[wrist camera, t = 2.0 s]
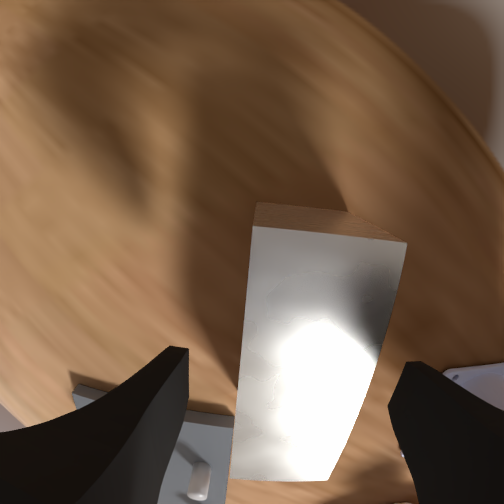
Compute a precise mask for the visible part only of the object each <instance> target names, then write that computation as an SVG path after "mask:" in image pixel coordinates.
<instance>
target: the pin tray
mask: <svg viewBox="0 0 504 504" xmlns="http://www.w3.org/2000/svg"><path fill="white" fill-rule="evenodd" d="M107 393H108V392H104V391H100V390H97V389H93V388H90V387H87V386H84V385H80V384H78V385H77V387H76V388H75V389H74V391H73V392H72V395H73V399H74V402H75V405H76V409H80V408H82V407H84V406H86V405H88V404H89V403H91V402H93V401H95V400H97V399H99V398H100V397H102V396H104V395H105V394H107ZM234 417H235V416H226V415H218V414H211V413H204V412H197V411H191V410H186V413H185V417H184V422H183V425H182V428H181V431H180V433H179V436H178V439H177V442H176V445H175V447H174V450H173V453H172V456H171V458H170V461H169V464H168V467H167V470H166V472H165V475H164V478H163V482H162V485H161V489H160V494H159V498H158V503H157V504H225V499H226V490H227V481H228V472H229V463H230V454H231V445H232V436H233V427H234Z"/></svg>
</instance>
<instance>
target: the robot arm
mask: <svg viewBox="0 0 504 504" xmlns="http://www.w3.org/2000/svg"><path fill="white" fill-rule="evenodd" d="M188 399H189V349H188V348H181V347H175V346H169V347H167V348H166V349H165V350H164V351H162V352H161V353H160V354H159V355H158V356H156V357H155V358H154V359H153V360H152V361H150V362H149V363H148V364H147V365H146V366H144V367H143V368H142V369H141V370H139V371H138V372H137V373H135V374H134V375H133V376H132V377H130V378H129V379H128V380H126V381H125V382H123V383H122V384H120V385H119V386H117V387H116V388H114V389H113V390H111V391H110V392H109V393H107V394H105V395H104V396H102V397H100V398H99V399H97V400H95V401H93V402H91V403H89V404H88V405H86V406H84V407H82V408H80V409H77V410H75V411H73V412H70V413H68V414H65V415H63V416H60V417H58V418H55V419H53V420H50V421H47V422H44V423H41V424H37V425H34V426H30V427H26V428H22V429H18V430H13V431H8V432H0V504H157V503H158V498H159V494H160V489H161V485H162V482H163V478H164V475H165V472H166V470H167V467H168V464H169V461H170V458H171V456H172V453H173V450H174V447H175V445H176V442H177V439H178V436H179V433H180V431H181V428H182V425H183V422H184V417H185V413H186V408H187V403H188ZM388 410H389V415H390V419H391V423H392V427H393V430H394V433H395V435H396V438H397V440H398V443H399V445H400V448H401V452H400V454H401V456H402V457H404V458H405V460H406V463H407V465H408V468H409V470H410V473H411V475H412V478H413V481H414V484H415V488H416V492H417V497H418V501H419V504H504V363H497V364H490V365H482V366H473V367H464V368H454V369H448V370H446V371H445V372H444V373H443V374H442V373H440V372H438V371H437V370H435V369H434V368H432V367H430V366H429V365H427V364H425V363H423V362H421V361H415V362H406V364H405V366H404V369H403V371H402V374H401V376H400V379H399V381H398V384H397V386H396V388H395V391H394V393H393V395H392V397H391V400H390V402H389V404H388Z"/></svg>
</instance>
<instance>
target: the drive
mask: <svg viewBox="0 0 504 504" xmlns="http://www.w3.org/2000/svg"><path fill="white" fill-rule="evenodd" d="M406 248H407V243H406V242H405V241H403V240H401V239H399V238H397V237H396V236H394V235H392V234H390V233H388V232H386V231H384V230H383V229H381V228H379V227H377V226H375V225H373V224H371V223H369V222H367V221H365V220H363V219H362V218H360V217H358V216H356V215H354V214H352V213H350V212H346V211H338V210H330V209H322V208H313V207H305V206H296V205H286V204H277V203H267V202H257V201H256V208H255V215H254V222H253V230H252V241H251V251H250V262H249V273H248V284H247V295H246V305H245V316H244V327H243V338H242V349H241V360H240V371H239V382H238V393H237V404H236V415H235V426H234V437H233V448H232V459H231V470H230V478H232V479H244V480H259V481H324V480H328V478H329V476H330V474H331V472H332V470H333V468H334V466H335V464H336V462H337V460H338V458H339V456H340V454H341V451H342V449H343V447H344V445H345V443H346V440H347V438H348V436H349V434H350V431H351V429H352V427H353V424H354V422H355V419H356V417H357V415H358V412H359V410H360V407H361V404H362V402H363V399H364V397H365V394H366V391H367V389H368V386H369V383H370V380H371V378H372V375H373V372H374V369H375V366H376V363H377V360H378V357H379V354H380V351H381V347H382V344H383V341H384V338H385V334H386V331H387V327H388V324H389V320H390V317H391V313H392V309H393V306H394V302H395V298H396V294H397V290H398V285H399V281H400V277H401V272H402V268H403V263H404V258H405V253H406Z"/></svg>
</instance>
